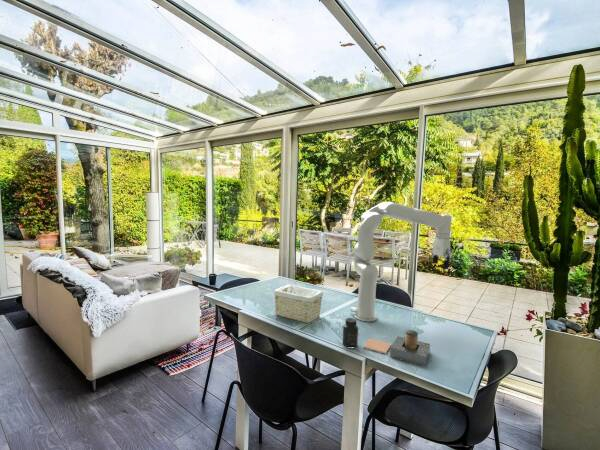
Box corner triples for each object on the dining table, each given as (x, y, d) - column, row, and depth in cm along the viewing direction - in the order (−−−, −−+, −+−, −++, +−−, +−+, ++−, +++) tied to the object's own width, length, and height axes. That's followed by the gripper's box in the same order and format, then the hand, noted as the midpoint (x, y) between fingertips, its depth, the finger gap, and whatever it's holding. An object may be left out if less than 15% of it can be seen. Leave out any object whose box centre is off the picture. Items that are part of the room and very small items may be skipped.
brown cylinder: (402, 355, 133) (404, 332, 133) (405, 350, 138) (406, 329, 137) (415, 358, 131) (416, 335, 130) (417, 354, 135) (418, 331, 134)
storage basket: (271, 315, 174) (272, 289, 173) (287, 307, 188) (288, 283, 187) (308, 325, 162) (310, 297, 161) (323, 316, 175) (324, 290, 174)
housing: (389, 356, 132) (390, 347, 131) (397, 344, 144) (397, 335, 143) (424, 366, 125) (425, 357, 124) (429, 352, 137) (430, 344, 136)
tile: (363, 348, 138) (363, 346, 138) (370, 340, 147) (370, 338, 147) (385, 354, 133) (385, 352, 133) (391, 345, 142) (391, 343, 142)
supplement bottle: (340, 342, 144) (342, 316, 143) (355, 342, 144) (356, 317, 143) (344, 349, 137) (345, 322, 136) (359, 349, 137) (360, 322, 136)
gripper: (427, 234, 186) (425, 262, 188) (447, 237, 170) (444, 268, 171) (438, 234, 188) (436, 262, 189) (459, 238, 171) (456, 268, 172)
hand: (440, 265), depth 180 cm, fingers open, 9 cm apart
